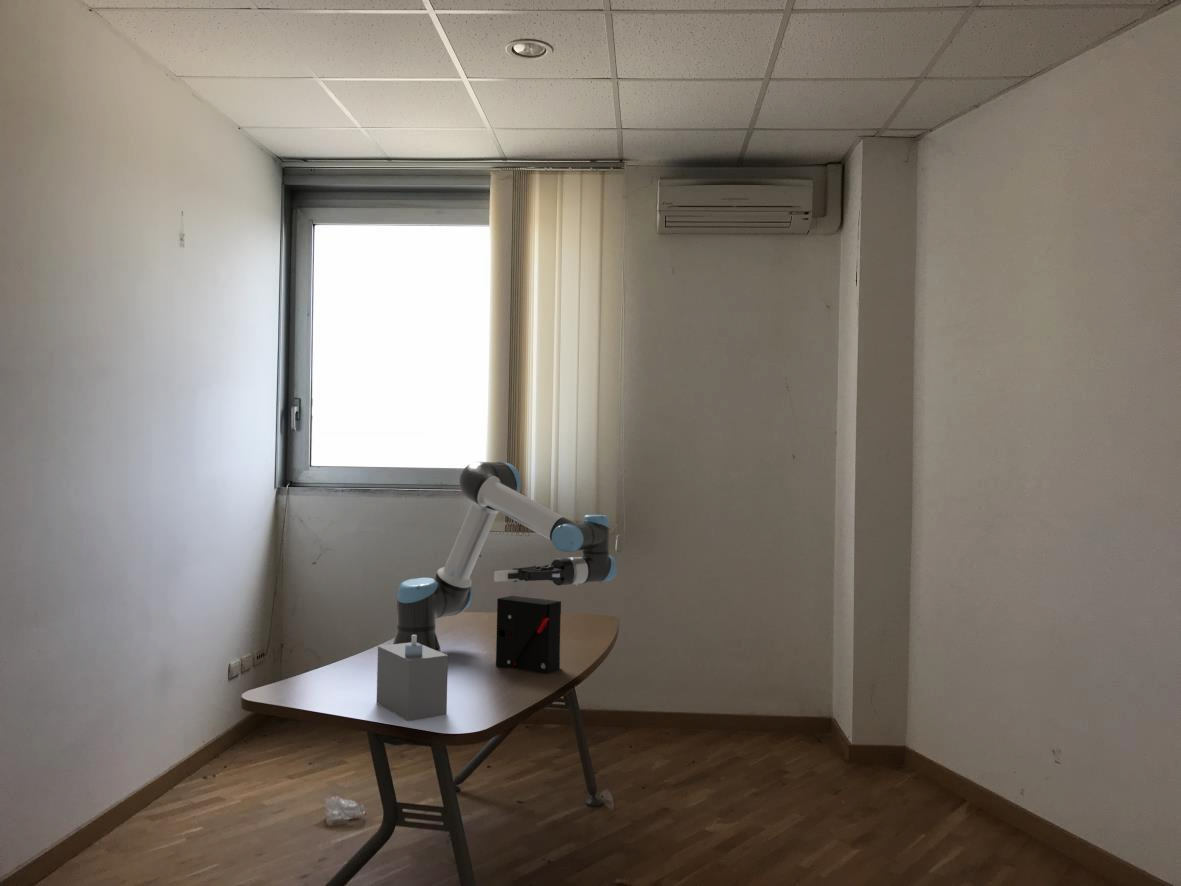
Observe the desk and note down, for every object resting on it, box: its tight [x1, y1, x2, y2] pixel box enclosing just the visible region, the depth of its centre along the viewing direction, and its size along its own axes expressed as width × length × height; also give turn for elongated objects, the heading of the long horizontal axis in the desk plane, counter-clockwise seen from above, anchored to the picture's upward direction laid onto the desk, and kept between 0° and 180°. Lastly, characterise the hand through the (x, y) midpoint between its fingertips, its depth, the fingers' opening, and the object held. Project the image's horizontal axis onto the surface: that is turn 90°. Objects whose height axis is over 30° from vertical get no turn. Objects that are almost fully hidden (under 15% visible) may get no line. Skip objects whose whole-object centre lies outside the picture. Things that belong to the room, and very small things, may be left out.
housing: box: [376, 642, 449, 722], centre depth 212 cm, size 18×10×14 cm, turn 37°
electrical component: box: [495, 595, 562, 675], centre depth 256 cm, size 18×10×20 cm, turn 59°
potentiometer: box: [405, 635, 422, 657], centre depth 207 cm, size 4×4×5 cm
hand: (495, 576), depth 230 cm, fingers closed
